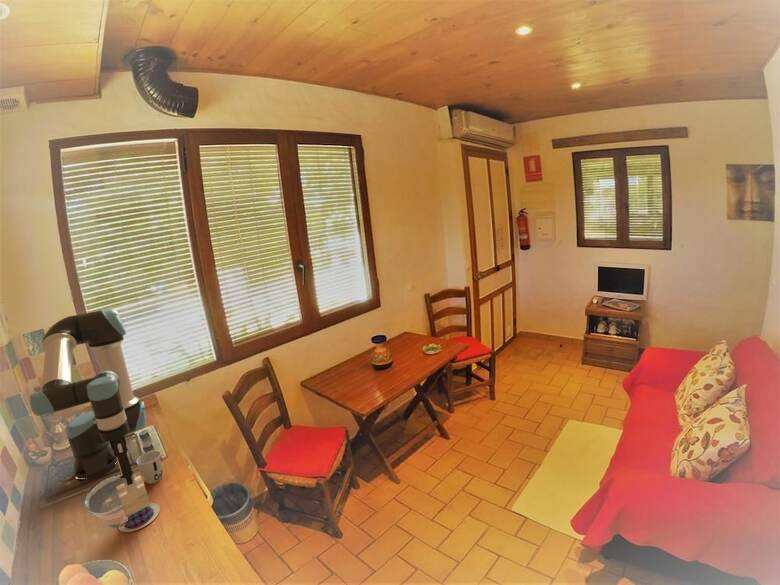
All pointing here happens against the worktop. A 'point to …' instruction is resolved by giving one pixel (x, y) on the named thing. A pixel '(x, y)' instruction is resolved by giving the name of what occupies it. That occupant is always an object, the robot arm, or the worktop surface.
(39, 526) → the worktop surface
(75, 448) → the robot arm
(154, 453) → the cup
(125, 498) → the block
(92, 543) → the worktop surface
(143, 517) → the plate of blueberries
